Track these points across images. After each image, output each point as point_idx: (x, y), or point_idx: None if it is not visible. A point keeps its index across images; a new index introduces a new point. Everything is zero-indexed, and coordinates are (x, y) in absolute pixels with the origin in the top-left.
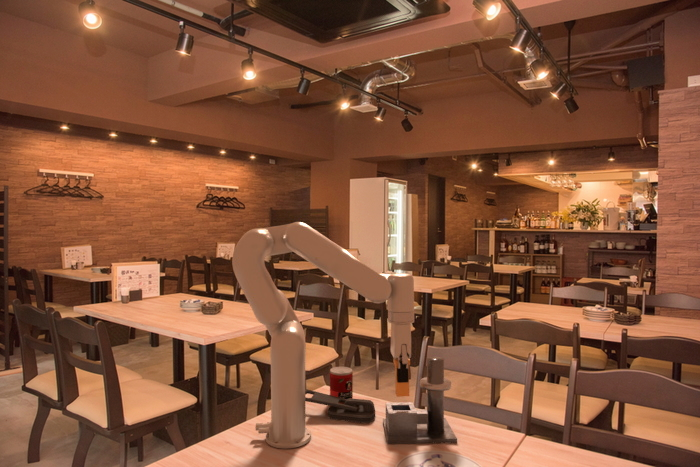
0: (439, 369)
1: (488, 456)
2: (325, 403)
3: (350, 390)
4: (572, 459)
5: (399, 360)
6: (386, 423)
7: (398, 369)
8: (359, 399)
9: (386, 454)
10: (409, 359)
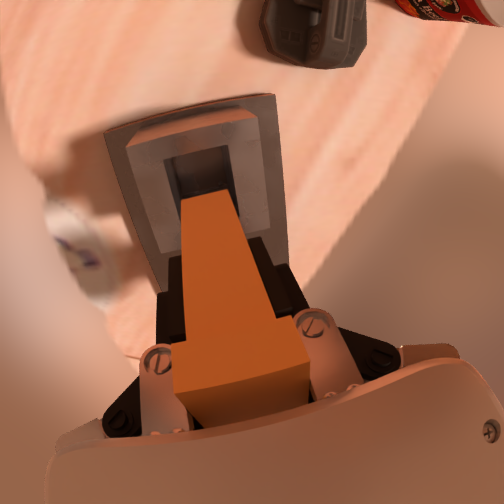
0: None
1: (130, 337)
2: None
3: (431, 6)
4: None
5: (146, 432)
6: (208, 112)
7: (172, 336)
8: (349, 11)
9: (49, 142)
10: None
